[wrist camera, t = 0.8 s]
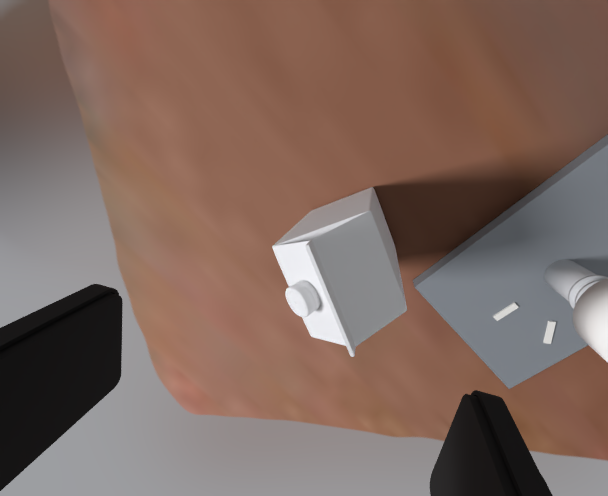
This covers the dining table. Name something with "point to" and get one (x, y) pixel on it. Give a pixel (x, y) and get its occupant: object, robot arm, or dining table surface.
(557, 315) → the post stand
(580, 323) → the white rounded lump
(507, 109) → the dining table surface
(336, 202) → the milk carton
